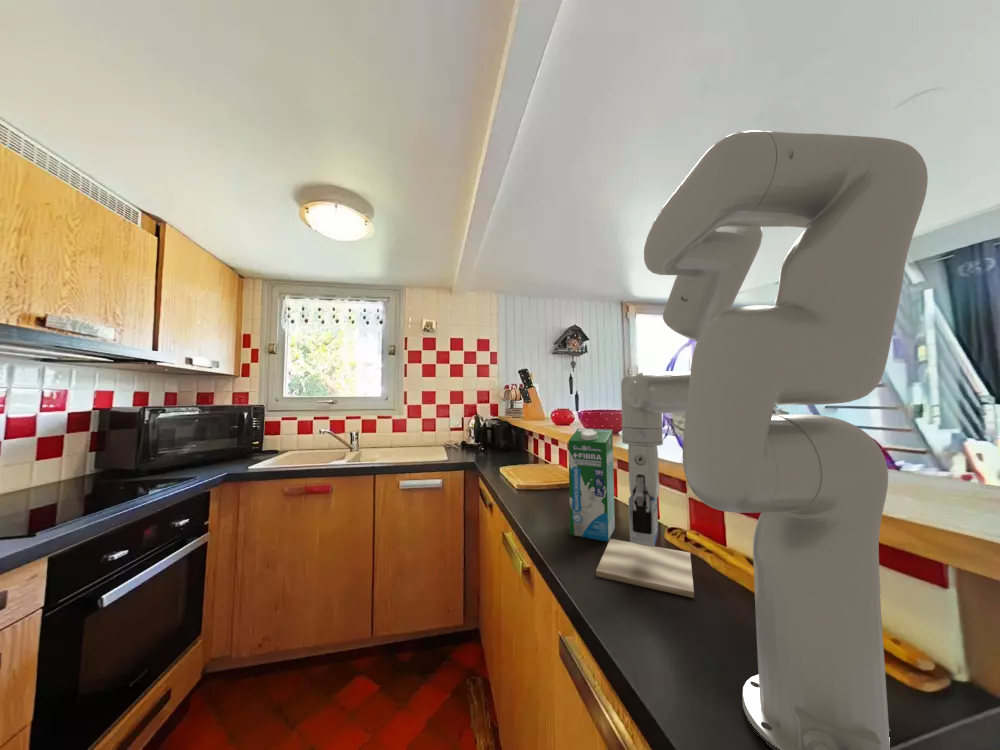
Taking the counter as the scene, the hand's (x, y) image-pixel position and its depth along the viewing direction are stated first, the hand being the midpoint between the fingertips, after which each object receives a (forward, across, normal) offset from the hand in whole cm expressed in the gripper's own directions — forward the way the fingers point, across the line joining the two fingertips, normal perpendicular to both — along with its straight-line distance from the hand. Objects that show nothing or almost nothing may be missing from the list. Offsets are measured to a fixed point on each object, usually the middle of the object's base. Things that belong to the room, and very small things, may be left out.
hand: (644, 524), depth 69 cm
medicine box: (+3, 0, 0) cm, 3 cm away
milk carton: (+9, +13, +13) cm, 20 cm away
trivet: (+8, 0, 0) cm, 8 cm away
